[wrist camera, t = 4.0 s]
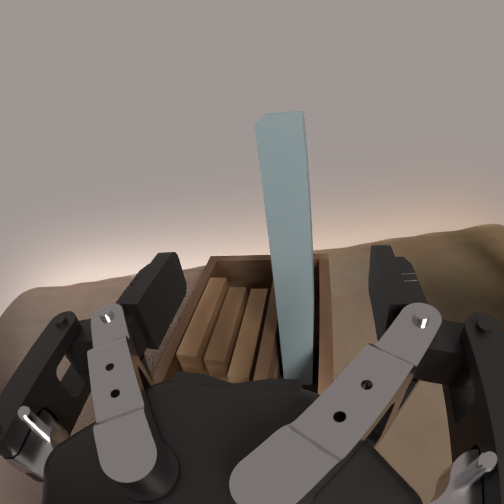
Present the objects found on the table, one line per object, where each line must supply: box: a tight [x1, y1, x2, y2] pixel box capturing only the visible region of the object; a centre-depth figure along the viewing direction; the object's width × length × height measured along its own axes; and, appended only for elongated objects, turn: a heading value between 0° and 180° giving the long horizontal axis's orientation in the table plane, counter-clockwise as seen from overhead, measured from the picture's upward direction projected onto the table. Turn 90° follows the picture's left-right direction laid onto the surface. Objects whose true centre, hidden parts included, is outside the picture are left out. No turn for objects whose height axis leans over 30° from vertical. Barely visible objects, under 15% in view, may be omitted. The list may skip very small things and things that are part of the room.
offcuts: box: [176, 278, 269, 383], centre depth 33 cm, size 7×13×8 cm, turn 171°
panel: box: [254, 111, 314, 385], centre depth 27 cm, size 3×6×26 cm, turn 170°
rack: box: [153, 254, 333, 395], centre depth 33 cm, size 16×23×7 cm
